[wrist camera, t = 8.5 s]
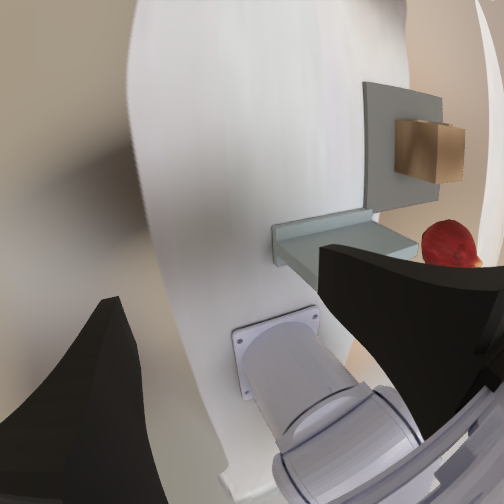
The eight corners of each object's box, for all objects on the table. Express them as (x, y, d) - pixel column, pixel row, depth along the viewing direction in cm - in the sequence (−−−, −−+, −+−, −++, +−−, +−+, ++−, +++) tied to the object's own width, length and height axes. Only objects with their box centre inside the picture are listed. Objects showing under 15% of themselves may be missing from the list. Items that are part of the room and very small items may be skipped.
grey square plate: (435, 199, 27) (438, 200, 27) (363, 213, 24) (366, 214, 23) (439, 97, 22) (441, 97, 22) (362, 82, 19) (366, 81, 19)
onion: (409, 270, 29) (463, 305, 23) (403, 228, 26) (466, 261, 20) (439, 242, 30) (491, 269, 23) (435, 201, 27) (495, 226, 20)
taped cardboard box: (424, 169, 24) (462, 181, 20) (394, 171, 23) (435, 184, 19) (425, 120, 22) (465, 126, 18) (394, 117, 21) (437, 121, 17)
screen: (365, 239, 25) (414, 268, 20) (273, 263, 22) (315, 305, 17) (367, 207, 24) (420, 230, 18) (272, 226, 21) (317, 260, 16)
